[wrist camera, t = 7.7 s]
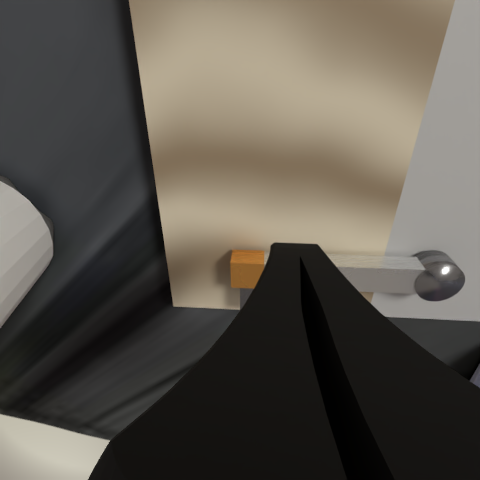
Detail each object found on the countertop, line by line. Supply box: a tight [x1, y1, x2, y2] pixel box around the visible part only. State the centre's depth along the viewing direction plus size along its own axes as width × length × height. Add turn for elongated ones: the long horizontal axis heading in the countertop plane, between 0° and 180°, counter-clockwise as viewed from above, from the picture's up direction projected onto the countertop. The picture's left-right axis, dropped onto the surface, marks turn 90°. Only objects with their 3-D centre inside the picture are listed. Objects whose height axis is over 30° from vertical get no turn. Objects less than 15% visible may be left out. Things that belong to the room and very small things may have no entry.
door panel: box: [129, 0, 455, 310], centre depth 17 cm, size 18×12×2 cm
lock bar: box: [230, 250, 465, 301], centre depth 18 cm, size 12×2×1 cm, turn 90°
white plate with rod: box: [371, 0, 480, 321], centre depth 16 cm, size 18×8×2 cm, turn 0°
